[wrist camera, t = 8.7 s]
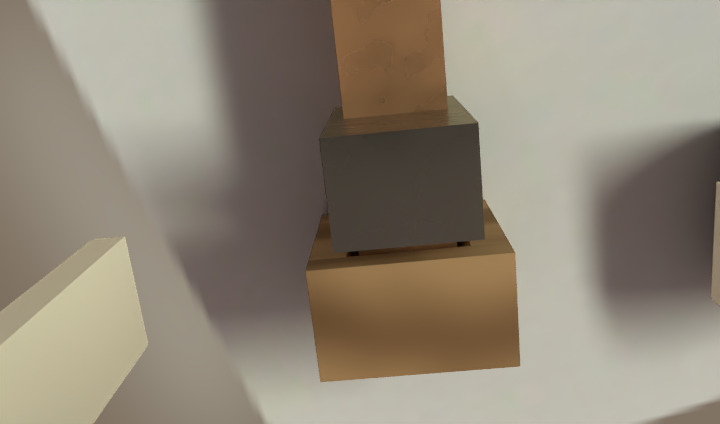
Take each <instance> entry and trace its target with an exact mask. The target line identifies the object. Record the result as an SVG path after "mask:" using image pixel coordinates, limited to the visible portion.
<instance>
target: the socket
mask: <svg viewBox="0 0 720 424" xmlns="http://www.w3.org/2000/svg"><path fill="white" fill-rule="evenodd" d="M483 215H484V232H485V240H474V241H462V242H457V247H453V248H442V249H431V250H419V251H408V252H397V253H386V254H375V255H364V256H359V251H351V252H340V253H333V247H332V239H331V231H330V223H329V214H326V215H322V217H321V221H320V224H319V227H318V231H317V234H316V238H315V241H314V244H313V248H312V251H311V254H310V258H309V261H308V264H307V268H306V279H307V286H308V293H309V301H310V308H311V315H312V323H313V330H314V337H315V345H316V352H317V359H318V367H319V374H320V381H321V382H327V381H340V380H353V379H365V378H378V377H391V376H403V375H416V374H429V373H441V372H454V371H467V370H479V369H492V368H505V367H517V366H520V351H519V328H518V306H517V283H516V261H515V252H514V250H513V248H512V246H511V245H510V243H509V241H508V239H507V238H506V236H505V234H504V232H503V231H502V229H501V227H500V225H499V224H498V222H497V220H496V218H495V217H494V215H493V213H492V212H491V210H490V208H489V206H488V205H487V203H486V201H485V200H483Z"/></svg>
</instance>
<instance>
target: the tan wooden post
mask: <svg viewBox="0 0 720 424" xmlns="http://www.w3.org/2000/svg"><path fill="white" fill-rule="evenodd" d="M330 1H331V10H332V19H333V28H334V37H335V46H336V55H337V64H338V73H339V81H340V90H341V99H342V107H335V109H334V111H333V112H332V114H331V116H330V118H329V120H328V122H327V124H326V126H325V128H324V130H323V132H322V134H321V136H320V138H319V141H320V149H321V158H322V166H323V174H324V182H325V190H326V198H327V206H328V214H329V223H330V231H331V239H332V247H333V253H340V252H351V251H359V256H364V255H375V254H386V253H397V252H408V251H419V250H431V249H442V248H453V247H457V242H462V241H474V240H485V232H484V215H483V197H482V180H481V162H480V145H479V127H478V122H477V121H476V120H475V119H474V118H473V117H472V116H471V114H470V113H469V112H468V111H467V110H466V109H465V108H464V107H463V106H462V105H461V104H460V103H459V102H458V101H457V99H456V98H455V97H454V96H453V95H452V96H447V90H446V76H445V61H444V47H443V32H442V18H441V3H440V0H330Z"/></svg>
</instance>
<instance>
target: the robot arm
mask: <svg viewBox="0 0 720 424" xmlns="http://www.w3.org/2000/svg"><path fill="white" fill-rule="evenodd" d="M711 299H712V300H713V301H714V302H715V303H716V304H717V305H718V306H720V182H716V202H715V223H714V244H713V266H712V287H711ZM147 346H148V340H147V336H146V331H145V327H144V322H143V317H142V313H141V308H140V304H139V299H138V295H137V290H136V285H135V280H134V276H133V271H132V266H131V262H130V257H129V253H128V248H127V244H126V239H125V236H122V237H111V238H100V239H92V240H91V241H89V242H88V243H87V244H86V245H84V246H83V247H82V248H81V249H79V250H78V251H77V252H75V253H74V254H73V255H72V256H71V257H69V258H68V259H67V260H65V261H64V262H63V263H61V264H60V265H59V266H58V267H57V268H55V269H54V270H53V271H51V272H50V273H49V274H48V275H47V276H45V277H44V278H42V279H41V280H40V281H39V282H37V283H36V284H35V285H34V286H32V287H31V288H30V289H29V290H28V291H26V292H25V293H23V294H22V295H21V296H20V297H18V298H17V299H16V300H15V301H13V302H12V303H11V304H9V305H8V306H7V307H6V308H5V309H3V310H2V311H1V312H0V424H93V423H94V422H95V420H96V419H97V418H98V416H99V415H100V413H101V412H102V410H103V409H104V408H105V406H106V405H107V403H108V402H109V400H110V399H111V398H112V396H113V395H114V393H115V392H116V390H117V389H118V388H119V386H120V385H121V383H122V382H123V380H124V379H125V378H126V376H127V375H128V373H129V372H130V370H131V369H132V368H133V366H134V365H135V363H136V362H137V360H138V359H139V358H140V356H141V355H142V353H143V352H144V350H145V349H146V347H147Z"/></svg>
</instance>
